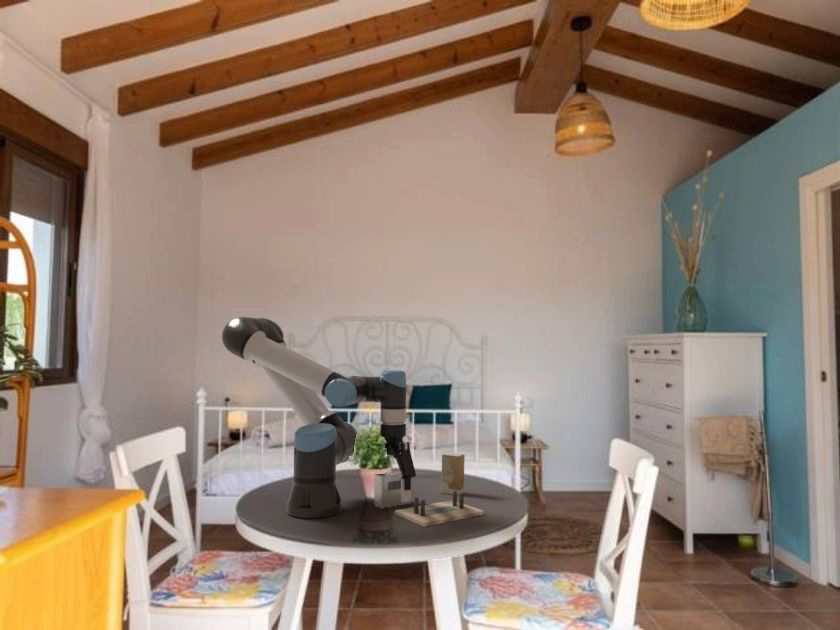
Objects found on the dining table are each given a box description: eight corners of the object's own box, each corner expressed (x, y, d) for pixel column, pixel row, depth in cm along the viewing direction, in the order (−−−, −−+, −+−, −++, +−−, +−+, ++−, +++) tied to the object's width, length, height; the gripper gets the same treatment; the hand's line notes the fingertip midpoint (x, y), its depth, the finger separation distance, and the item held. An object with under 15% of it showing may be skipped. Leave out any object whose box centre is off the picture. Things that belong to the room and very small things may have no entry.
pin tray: (424, 526, 151) (424, 506, 152) (394, 514, 163) (394, 495, 163) (483, 514, 163) (483, 496, 163) (452, 503, 174) (452, 486, 175)
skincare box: (440, 493, 187) (440, 454, 187) (446, 490, 190) (446, 451, 191) (459, 495, 184) (459, 455, 184) (464, 492, 187) (464, 453, 188)
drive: (381, 508, 169) (381, 476, 169) (374, 505, 172) (374, 474, 172) (410, 503, 174) (410, 472, 175) (403, 500, 178) (403, 470, 178)
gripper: (428, 426, 166) (428, 503, 165) (382, 418, 187) (381, 486, 186) (406, 428, 162) (405, 507, 161) (361, 419, 183) (360, 489, 181)
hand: (392, 496), depth 173 cm, fingers open, 13 cm apart
